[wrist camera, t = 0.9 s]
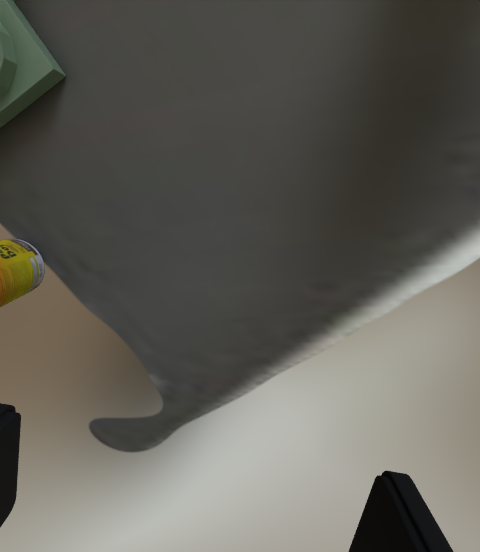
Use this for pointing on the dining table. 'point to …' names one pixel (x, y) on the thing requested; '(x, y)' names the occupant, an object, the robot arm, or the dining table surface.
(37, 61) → the button block
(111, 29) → the dining table surface
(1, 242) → the supplement bottle
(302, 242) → the dining table surface
